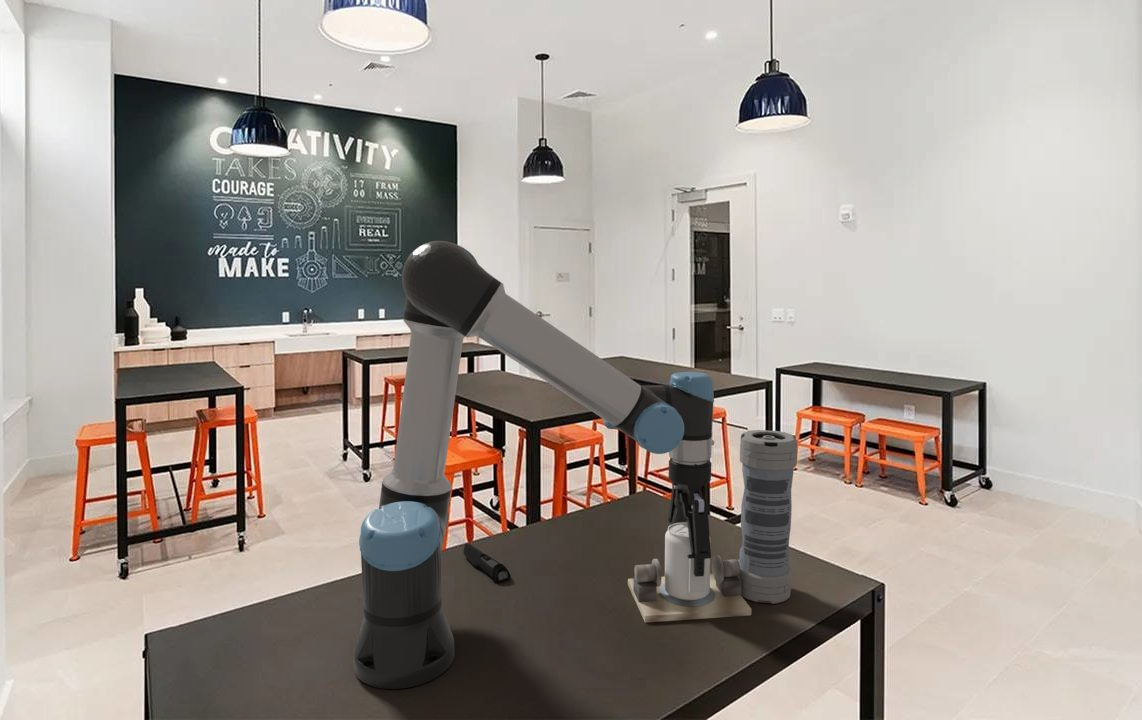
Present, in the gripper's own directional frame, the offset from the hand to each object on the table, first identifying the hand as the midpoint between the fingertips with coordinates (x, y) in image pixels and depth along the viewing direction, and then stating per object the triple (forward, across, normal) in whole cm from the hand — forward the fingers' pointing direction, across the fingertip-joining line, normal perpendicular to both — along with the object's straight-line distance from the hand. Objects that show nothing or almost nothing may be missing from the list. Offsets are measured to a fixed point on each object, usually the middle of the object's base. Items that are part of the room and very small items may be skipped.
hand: (687, 577), depth 122 cm
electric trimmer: (+5, +18, +37) cm, 41 cm away
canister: (+4, +1, -15) cm, 16 cm away
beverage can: (+3, 0, 0) cm, 3 cm away
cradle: (+4, 0, 0) cm, 4 cm away
